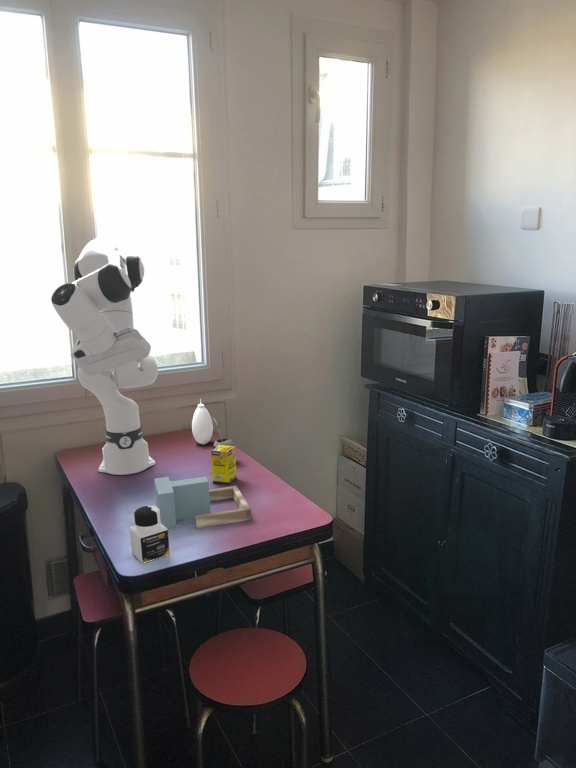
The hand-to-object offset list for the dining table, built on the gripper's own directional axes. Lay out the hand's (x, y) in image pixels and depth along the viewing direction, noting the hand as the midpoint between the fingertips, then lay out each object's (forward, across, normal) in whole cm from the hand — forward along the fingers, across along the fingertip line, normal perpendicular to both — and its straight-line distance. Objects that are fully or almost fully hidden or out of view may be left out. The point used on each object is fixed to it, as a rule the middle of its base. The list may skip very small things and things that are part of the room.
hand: (129, 374), depth 171 cm
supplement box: (+49, -4, +2) cm, 50 cm away
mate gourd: (+56, +2, -12) cm, 58 cm away
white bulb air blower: (+62, +15, -30) cm, 71 cm away
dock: (+39, -9, +22) cm, 46 cm away
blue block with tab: (+34, -2, +25) cm, 42 cm away
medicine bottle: (+23, -2, +44) cm, 49 cm away
